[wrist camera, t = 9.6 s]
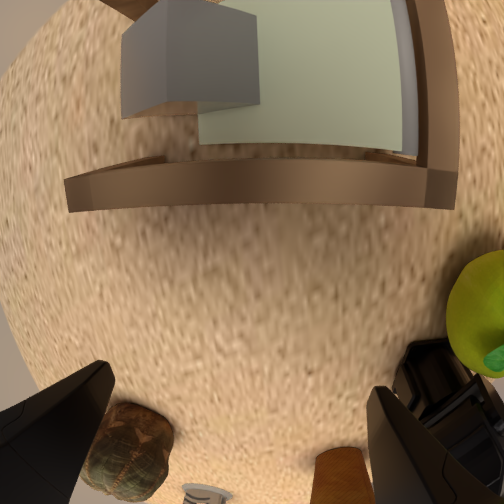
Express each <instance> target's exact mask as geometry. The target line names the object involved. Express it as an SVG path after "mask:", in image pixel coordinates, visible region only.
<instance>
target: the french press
mask: <svg viewBox="0 0 504 504" xmlns="http://www.w3.org/2000/svg"><path fill="white" fill-rule="evenodd" d="M182 488H183V490H184V491H185V492H186V495H185V497H184V501H183V504H196V503H206V504H226V501H227V500H229V499H231V498H232V496H233V495H232V494H231V493H230V492H227V491H225V490H223V489H220V488H216V487H213V486H208V485H203V484H194V483H190V484H184V485H182Z"/></svg>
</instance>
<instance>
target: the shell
mask: <svg viewBox="0 0 504 504" xmlns="http://www.w3.org/2000/svg"><path fill="white" fill-rule="evenodd" d="M173 443H174V437H173V432H172V430H171V427H170V425H169V423H168V421H167V420H166V419H165V418H164V416H161V415H159V414H157V413H155V412H152V411H150V410H148V409H145V408H143V407H141V406H139V405H135V404H131V403H121V404H117V405H116V406H112V407H111V408H110V410H109V411H108V412H107V413H106V414H105V415H104V417H103V420H102V422H101V424H100V427H99V429H98V431H97V433H96V436H95V438H94V440H93V443H92V445H91V447H90V450H89V452H88V455H87V457H86V459H85V462H84V464H83V467H82V469H81V472H80V474H79V476H80V477H81V479H82V480H83V481H84V482H85V483H86V484H87V485H89V486H90V487H91V488H92V489H94V490H97V491H102V492H103V493H104V494H105V495H111V494H112V495H113V496H114V497H115V498H117V499H118V500H124V501H127V502H142V501H145V500H147V499H148V498H150V497H151V496H152V495H153V494H154V492H155V491H156V490H157V489H158V488H159V487H160V486H161V485H162V484H163V482H164V481H165V479H166V477H167V476H168V470H169V465H168V460H169V455H170V452H171V450H172V448H173Z"/></svg>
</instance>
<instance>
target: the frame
mask: <svg viewBox="0 0 504 504" xmlns="http://www.w3.org/2000/svg"><path fill="white" fill-rule="evenodd" d="M100 1H101V2H103V3H105V4H107V5H108V6H110V7H112V8H114V9H115V10H117V11H119V12H120V13H122V14H124V15H125V16H127V17H128V18H130V19H132V20H133V21H135V22H136V21H137V20H138V19H139V18H140V17H141V16H142V15H143V14H144V13H146V12H147V11H148V10H149V9H150V8H151V7H152V6H154V5H155V4H156V3H157V2H158V0H100ZM405 1H406V5H407V10H408V15H409V21H410V27H411V33H412V40H413V48H414V56H415V65H416V77H417V92H418V156H417V159H416V161H415V160H411V159H407V158H403V157H399V156H394V155H390V154H383V153H371V152H366V155H365V160H351V159H329V158H240V159H217V160H201V161H187V162H175V163H165V158H164V156H156V157H147V158H142V159H137V160H133V161H129V162H125V163H121V164H117V165H113V166H109V167H105V168H101V169H98V170H94V171H91V172H87V173H84V174H80V175H77V176H74V177H70V178H67V179H64V185H65V192H66V198H67V204H68V210H69V213H71V212H82V211H94V210H107V209H120V208H136V207H153V206H173V205H198V204H236V203H322V204H359V205H384V206H403V207H420V208H435V209H448V210H454V207H455V199H456V190H457V180H458V167H459V145H460V112H459V91H458V79H457V69H456V60H455V53H454V46H453V40H452V34H451V29H450V24H449V19H448V15H447V10H446V6H445V2H444V0H405Z"/></svg>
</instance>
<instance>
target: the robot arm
mask: <svg viewBox="0 0 504 504" xmlns="http://www.w3.org/2000/svg"><path fill="white" fill-rule="evenodd" d="M114 385H115V376H114V374H113V371H112V369H111V366H110V364H109V363H108V362H107V361H103V360H97V361H95V362H93V363H91V364H89V365H88V366H86V367H84V368H82V369H80V370H79V371H77V372H75V373H73V374H71V375H70V376H68V377H66V378H64V379H62V380H60V381H59V382H57V383H55V384H53V385H51V386H49V387H48V388H46V389H44V390H42V391H40V392H39V393H37V394H35V395H33V396H31V397H29V398H27V399H26V400H24V401H22V402H20V403H18V404H16V405H14V406H12V407H10V408H8V409H6V410H3V411H1V412H0V504H69V501H70V498H71V495H72V492H73V490H74V487H75V485H76V482H77V479H78V477H79V474H80V472H81V469H82V467H83V464H84V462H85V459H86V457H87V455H88V452H89V450H90V447H91V445H92V443H93V440H94V438H95V436H96V433H97V431H98V429H99V427H100V424H101V422H102V420H103V417H104V415H105V412H106V409H107V406H108V403H109V400H110V397H111V394H112V391H113V388H114ZM392 391H393V393H394V394H397V395H398V398H399V399H398V398H397V397H396V396H395V395H394V394H393V393H392ZM392 391H391V390H390V389H389V388H388V387H387V386H375V387H374V388H373V389H372V391H371V394H370V396H369V399H368V401H367V407H366V409H367V429H368V449H369V457H370V463H371V471H372V478H373V485H374V495H375V504H504V403H503V401H502V399H501V398H500V396H499V394H498V393H497V391H496V390H495V388H494V386H493V385H492V384H491V383H490V382H489V381H488V380H487V379H485V378H484V377H483V376H482V375H481V374H479V373H476V374H475V375H474V376H473V375H472V373H471V371H470V369H469V368H467V367H466V366H465V365H464V364H463V363H462V362H461V361H460V360H459V359H458V358H457V356H456V355H455V353H454V351H453V349H452V347H451V345H450V342H449V338H448V339H440V340H433V341H424V342H415V343H411V344H410V345H409V346H408V348H407V351H406V354H405V356H404V359H403V362H402V364H401V365H400V367H399V370H398V373H397V375H396V378H395V380H394V385H393V387H392Z"/></svg>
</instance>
